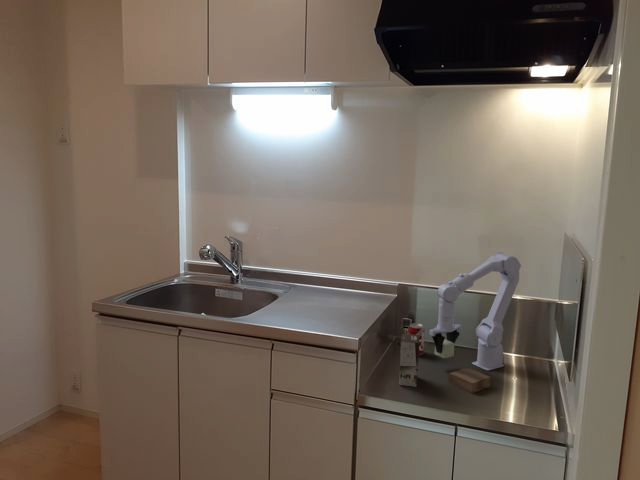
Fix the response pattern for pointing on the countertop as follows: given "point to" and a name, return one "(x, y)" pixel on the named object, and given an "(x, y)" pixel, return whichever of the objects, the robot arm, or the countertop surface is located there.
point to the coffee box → (409, 360)
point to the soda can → (420, 331)
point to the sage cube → (446, 349)
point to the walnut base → (469, 380)
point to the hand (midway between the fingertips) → (444, 350)
